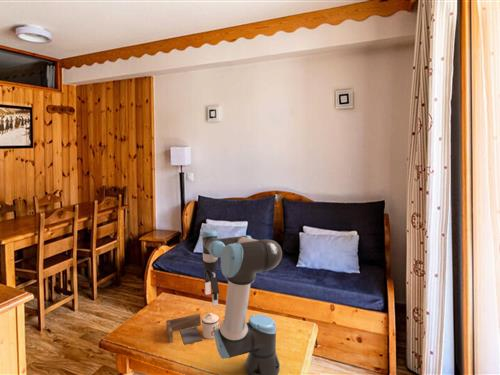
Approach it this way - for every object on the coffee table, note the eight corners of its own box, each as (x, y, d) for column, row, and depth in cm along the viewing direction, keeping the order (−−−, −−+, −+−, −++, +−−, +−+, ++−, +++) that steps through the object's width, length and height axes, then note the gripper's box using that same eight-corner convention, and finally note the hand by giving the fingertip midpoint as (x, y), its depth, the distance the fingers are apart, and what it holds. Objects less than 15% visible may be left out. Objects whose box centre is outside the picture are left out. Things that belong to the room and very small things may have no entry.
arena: (207, 339, 165) (206, 328, 164) (171, 347, 158) (170, 336, 157) (200, 323, 179) (199, 313, 178) (166, 331, 172) (166, 320, 171)
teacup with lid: (213, 341, 163) (213, 319, 162) (198, 336, 167) (197, 315, 166) (225, 329, 174) (225, 308, 172) (211, 325, 178) (210, 305, 176)
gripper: (225, 267, 155) (225, 308, 158) (210, 251, 178) (211, 288, 181) (209, 269, 153) (210, 312, 155) (197, 253, 176) (198, 291, 178)
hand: (211, 299), depth 168 cm, fingers open, 13 cm apart
